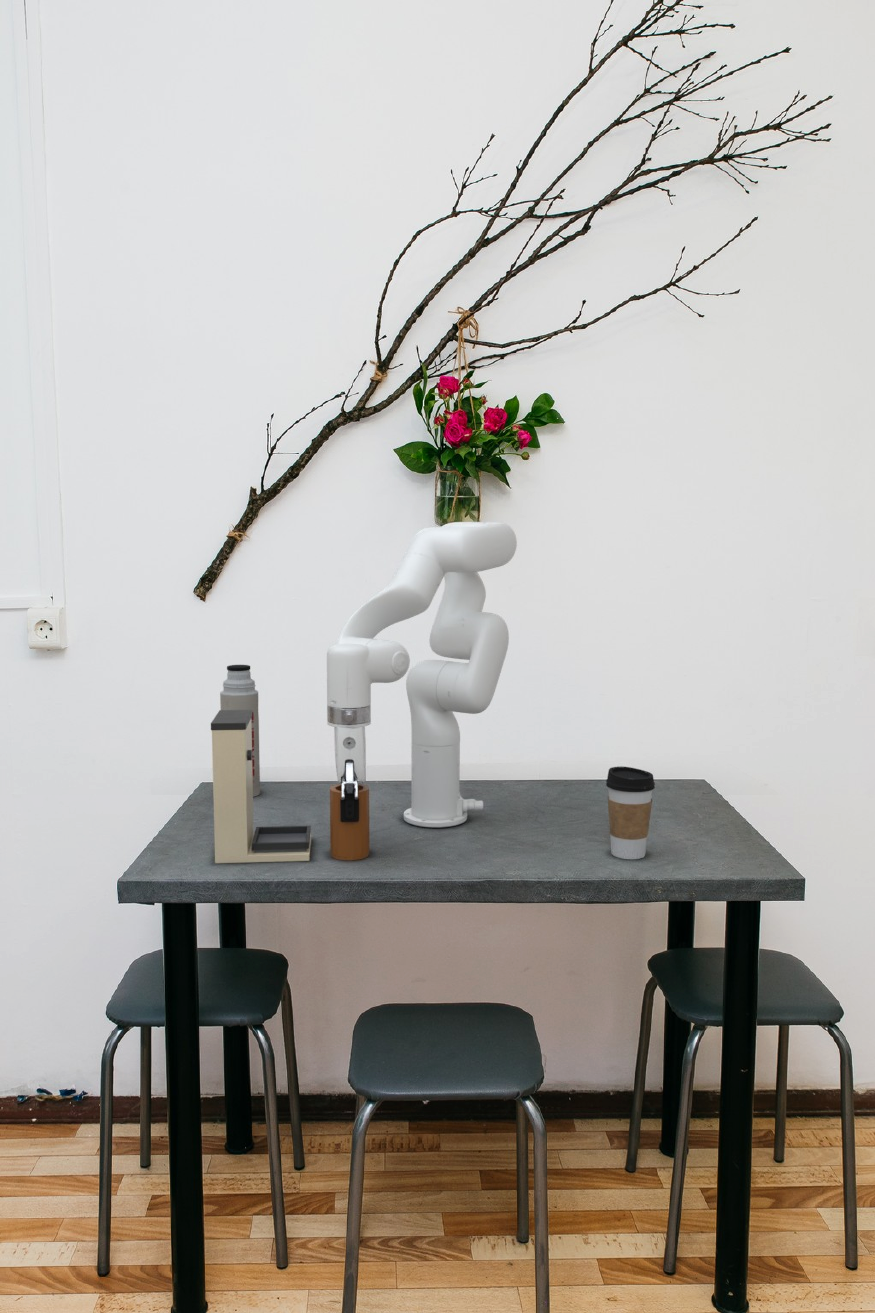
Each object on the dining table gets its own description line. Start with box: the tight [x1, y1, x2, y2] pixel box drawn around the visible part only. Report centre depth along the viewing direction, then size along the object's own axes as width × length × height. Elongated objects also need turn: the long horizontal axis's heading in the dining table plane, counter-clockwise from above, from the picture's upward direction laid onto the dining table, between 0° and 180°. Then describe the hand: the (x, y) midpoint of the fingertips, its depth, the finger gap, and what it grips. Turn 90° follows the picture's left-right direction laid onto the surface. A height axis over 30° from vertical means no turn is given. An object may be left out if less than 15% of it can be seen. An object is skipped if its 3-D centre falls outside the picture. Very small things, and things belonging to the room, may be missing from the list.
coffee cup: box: [605, 765, 656, 860], centre depth 174 cm, size 8×8×15 cm
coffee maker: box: [210, 709, 312, 864], centre depth 174 cm, size 16×12×24 cm
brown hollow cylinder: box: [329, 782, 370, 861], centre depth 174 cm, size 7×7×12 cm
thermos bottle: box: [219, 664, 261, 798], centre depth 212 cm, size 8×8×28 cm
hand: (349, 814), depth 173 cm, fingers open, 7 cm apart
